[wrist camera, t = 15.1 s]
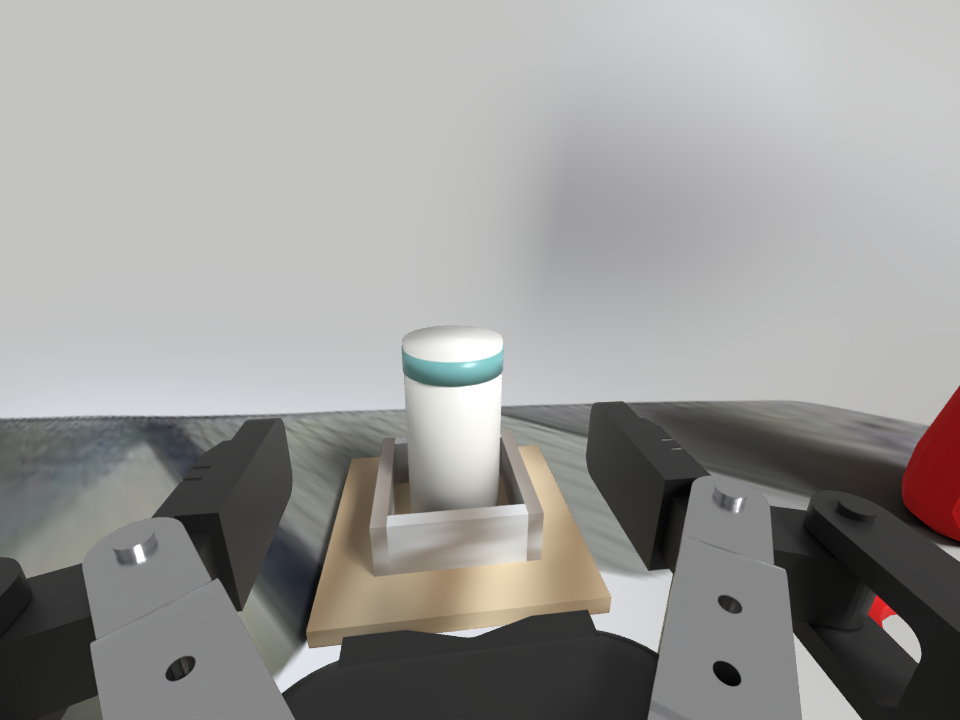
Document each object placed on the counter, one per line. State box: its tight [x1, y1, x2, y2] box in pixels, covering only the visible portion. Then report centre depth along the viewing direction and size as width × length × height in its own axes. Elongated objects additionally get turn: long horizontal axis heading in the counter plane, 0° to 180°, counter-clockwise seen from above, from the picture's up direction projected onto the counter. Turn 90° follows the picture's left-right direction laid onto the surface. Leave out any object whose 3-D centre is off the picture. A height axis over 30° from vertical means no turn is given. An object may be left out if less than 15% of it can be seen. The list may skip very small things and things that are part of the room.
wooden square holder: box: [306, 430, 611, 648], centre depth 26 cm, size 14×14×4 cm
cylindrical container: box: [402, 326, 504, 514], centre depth 25 cm, size 5×5×11 cm
